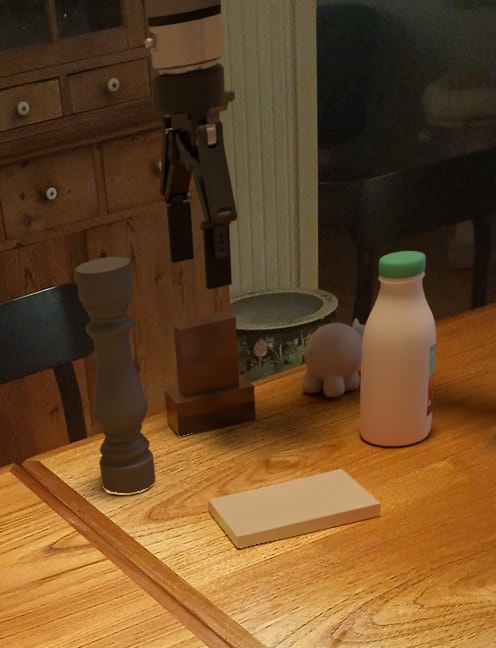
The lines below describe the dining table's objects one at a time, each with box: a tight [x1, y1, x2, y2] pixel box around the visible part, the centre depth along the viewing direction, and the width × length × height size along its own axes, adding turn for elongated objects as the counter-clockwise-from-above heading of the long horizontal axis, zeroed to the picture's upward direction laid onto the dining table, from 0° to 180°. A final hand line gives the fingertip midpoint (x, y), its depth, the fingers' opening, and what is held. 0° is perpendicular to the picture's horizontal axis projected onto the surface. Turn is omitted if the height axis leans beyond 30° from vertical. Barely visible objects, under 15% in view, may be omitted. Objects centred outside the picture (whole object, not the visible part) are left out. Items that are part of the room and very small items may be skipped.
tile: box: [207, 468, 382, 549], centre depth 102 cm, size 15×9×2 cm, turn 99°
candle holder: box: [74, 256, 156, 493], centre depth 108 cm, size 6×6×25 cm
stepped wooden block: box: [164, 311, 257, 436], centre depth 122 cm, size 10×5×13 cm, turn 99°
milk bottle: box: [359, 250, 437, 447], centre depth 108 cm, size 8×8×20 cm
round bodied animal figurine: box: [301, 317, 366, 398], centre depth 126 cm, size 7×12×8 cm, turn 121°
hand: (199, 273), depth 116 cm, fingers open, 13 cm apart
